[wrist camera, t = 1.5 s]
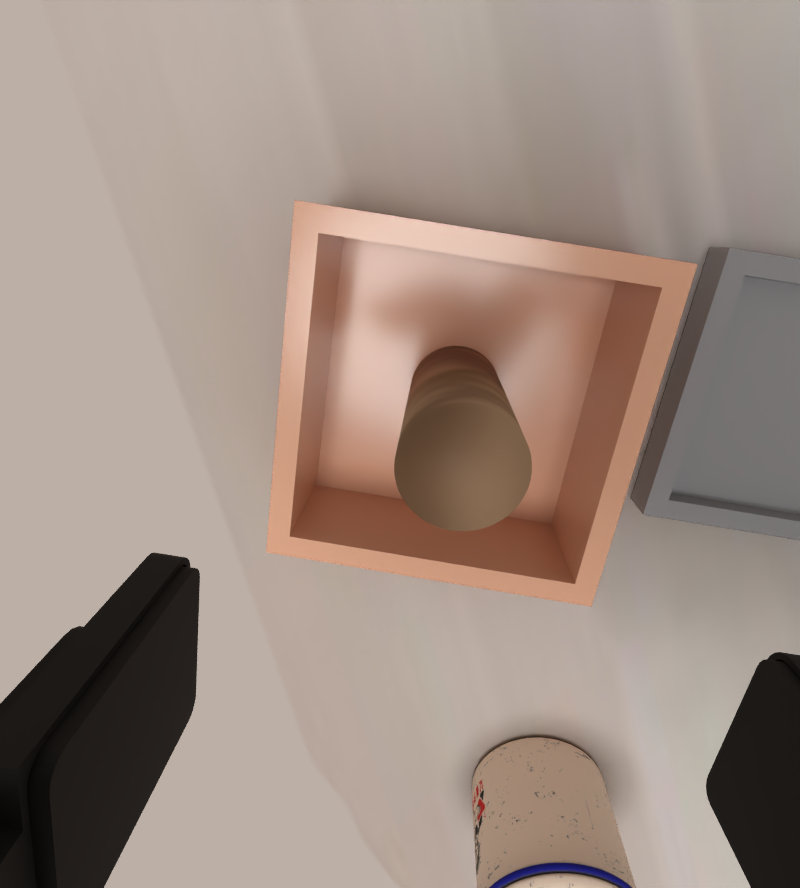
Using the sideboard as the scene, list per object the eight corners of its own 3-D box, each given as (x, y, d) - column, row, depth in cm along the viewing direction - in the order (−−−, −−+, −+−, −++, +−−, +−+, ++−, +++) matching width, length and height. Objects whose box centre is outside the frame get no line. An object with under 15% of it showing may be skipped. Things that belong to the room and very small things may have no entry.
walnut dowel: (507, 353, 28) (546, 415, 18) (489, 438, 30) (515, 541, 19) (418, 339, 28) (405, 392, 18) (404, 424, 30) (385, 519, 20)
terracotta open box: (639, 259, 27) (697, 264, 21) (562, 537, 32) (591, 606, 26) (327, 210, 27) (294, 200, 21) (299, 494, 32) (266, 552, 26)
